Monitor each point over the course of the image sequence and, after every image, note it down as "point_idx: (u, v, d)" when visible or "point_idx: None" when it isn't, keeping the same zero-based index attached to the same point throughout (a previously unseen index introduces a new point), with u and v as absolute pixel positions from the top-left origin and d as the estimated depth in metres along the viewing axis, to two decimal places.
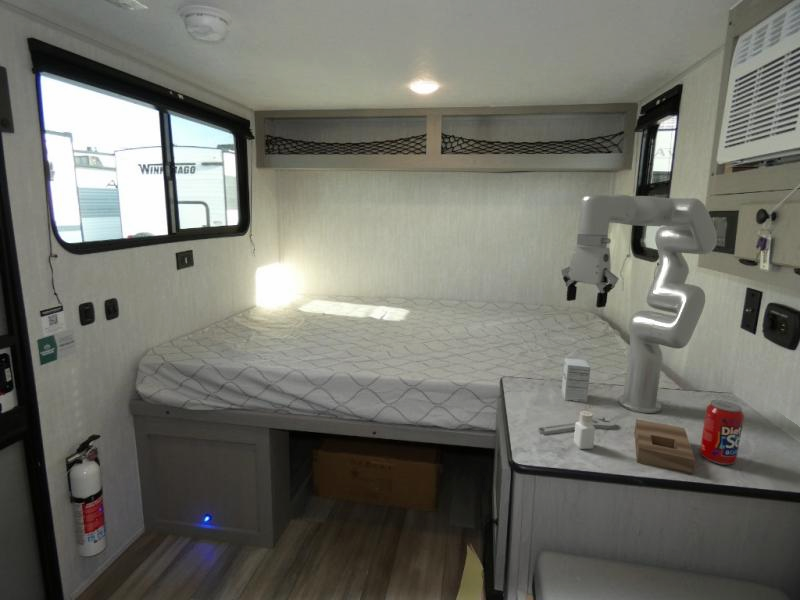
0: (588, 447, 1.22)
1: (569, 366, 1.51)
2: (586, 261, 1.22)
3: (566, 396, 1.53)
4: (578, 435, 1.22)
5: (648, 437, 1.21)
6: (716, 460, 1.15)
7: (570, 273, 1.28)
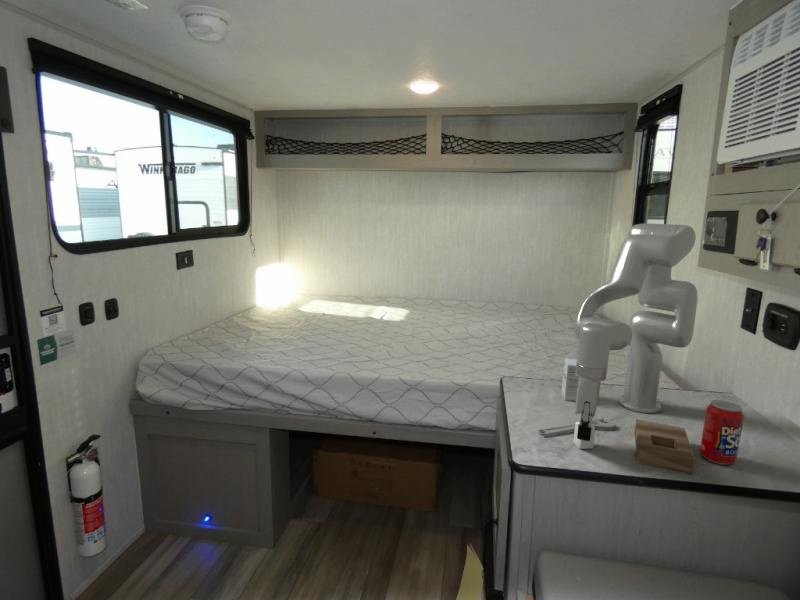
0: (588, 447, 1.22)
1: (569, 366, 1.51)
2: None
3: (566, 396, 1.53)
4: None
5: (648, 437, 1.21)
6: (716, 460, 1.15)
7: (595, 411, 1.17)
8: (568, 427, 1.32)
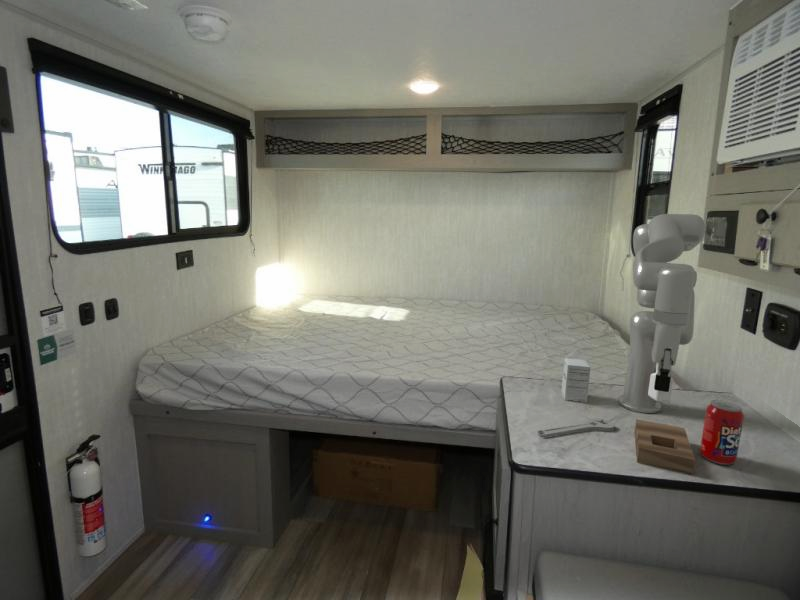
0: (665, 399, 1.15)
1: (569, 366, 1.51)
2: None
3: (566, 396, 1.53)
4: None
5: (648, 437, 1.21)
6: (716, 460, 1.15)
7: None
8: (567, 428, 1.32)
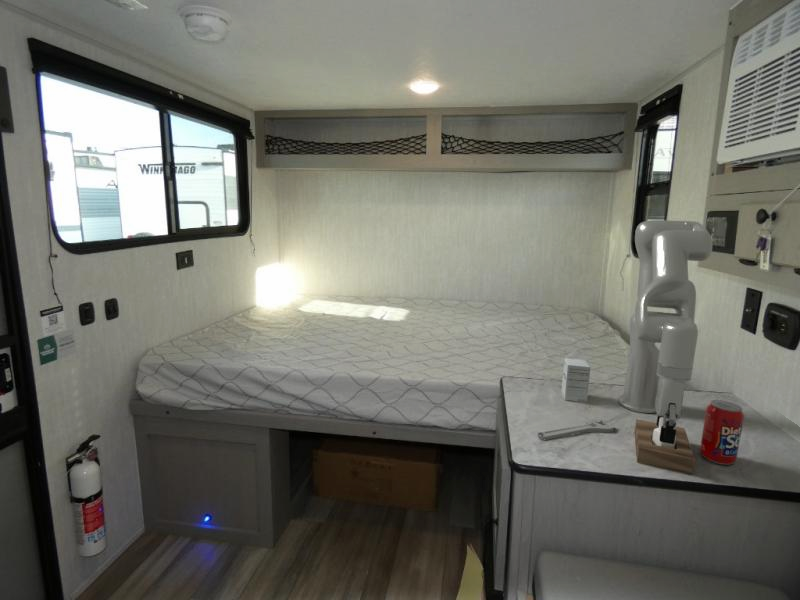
0: None
1: (569, 366, 1.51)
2: None
3: (566, 396, 1.53)
4: (658, 442, 1.18)
5: (648, 437, 1.21)
6: (716, 460, 1.15)
7: None
8: (567, 430, 1.31)
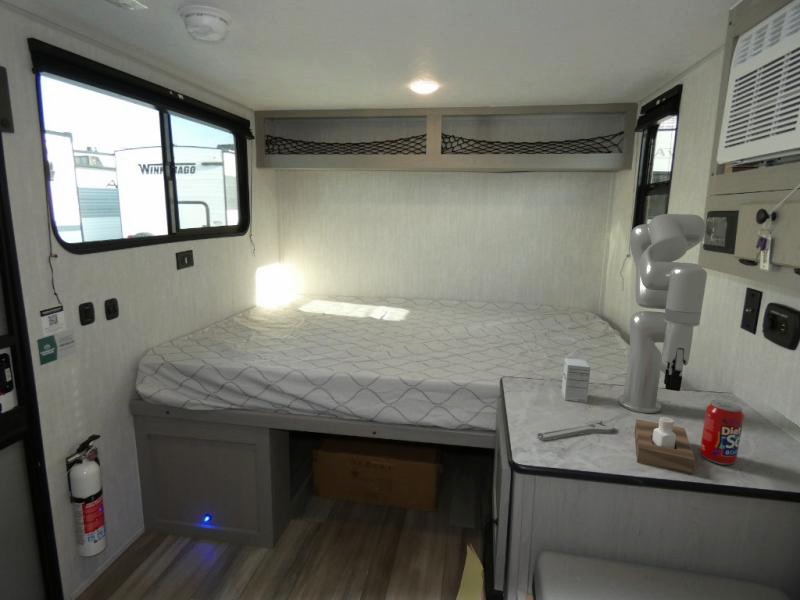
0: None
1: (569, 366, 1.51)
2: None
3: (566, 396, 1.53)
4: (658, 442, 1.18)
5: (648, 437, 1.21)
6: (716, 460, 1.15)
7: (688, 358, 1.09)
8: (567, 430, 1.30)
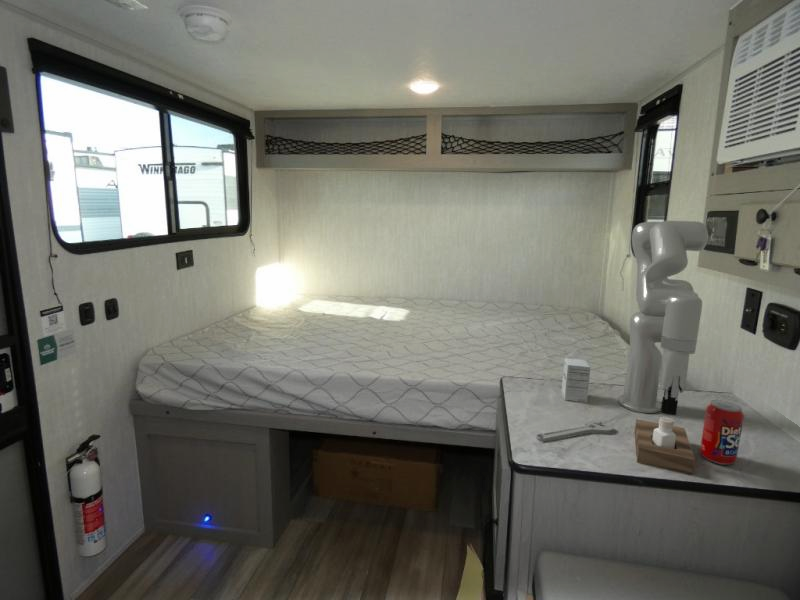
0: None
1: (569, 366, 1.51)
2: None
3: (566, 396, 1.53)
4: (658, 442, 1.18)
5: (648, 437, 1.21)
6: (716, 460, 1.15)
7: (684, 386, 1.11)
8: (566, 431, 1.30)
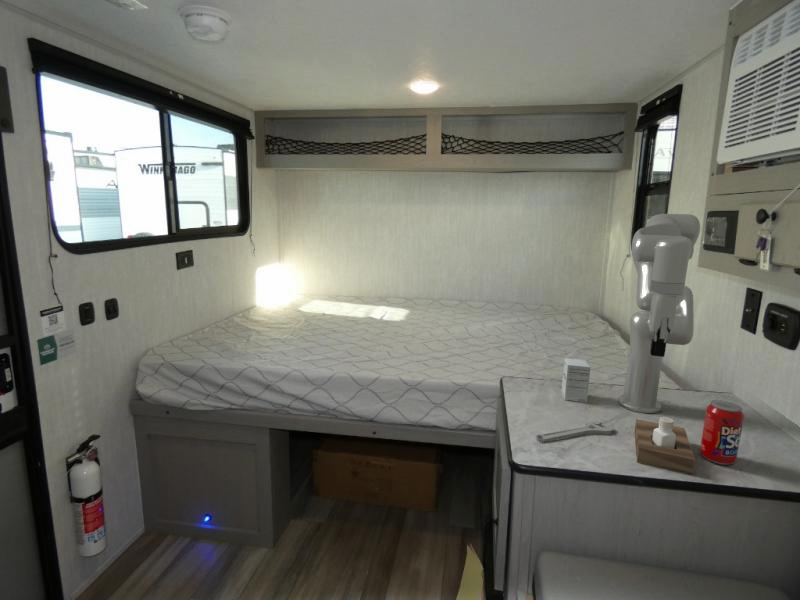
0: None
1: (569, 366, 1.51)
2: None
3: (566, 396, 1.53)
4: (658, 442, 1.18)
5: (648, 437, 1.21)
6: (716, 460, 1.15)
7: (672, 327, 1.15)
8: (566, 432, 1.29)
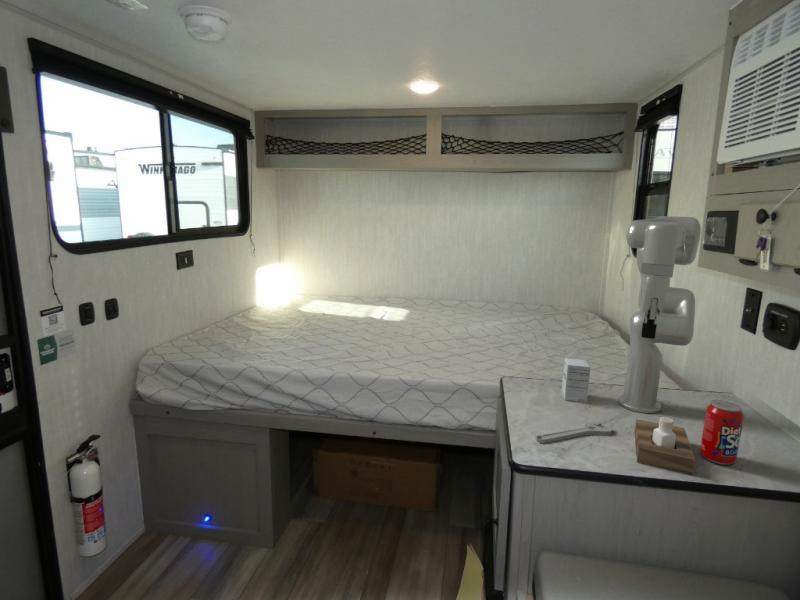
0: None
1: (569, 366, 1.51)
2: None
3: (566, 396, 1.53)
4: (658, 442, 1.18)
5: (648, 437, 1.21)
6: (716, 460, 1.15)
7: (662, 308, 1.18)
8: (566, 432, 1.29)
